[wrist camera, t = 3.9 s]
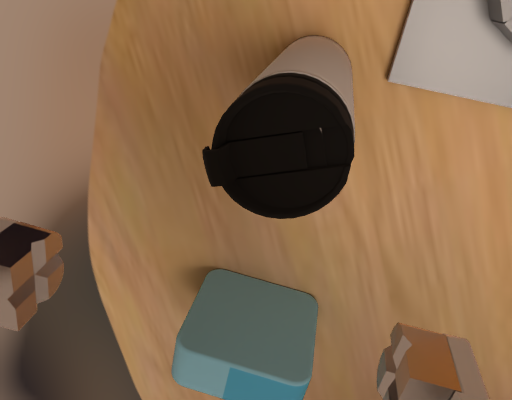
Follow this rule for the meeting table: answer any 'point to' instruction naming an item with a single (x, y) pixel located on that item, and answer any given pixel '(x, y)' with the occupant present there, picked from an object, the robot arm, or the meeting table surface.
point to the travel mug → (288, 133)
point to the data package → (246, 340)
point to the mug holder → (457, 49)
